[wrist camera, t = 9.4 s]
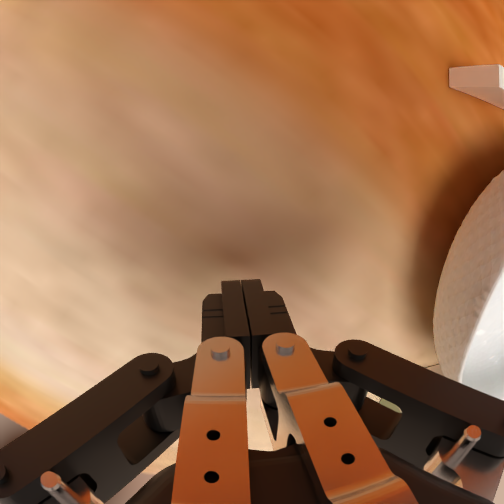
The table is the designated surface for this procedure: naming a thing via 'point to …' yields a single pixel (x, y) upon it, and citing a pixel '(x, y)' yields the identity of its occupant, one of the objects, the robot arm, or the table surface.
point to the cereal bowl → (474, 298)
